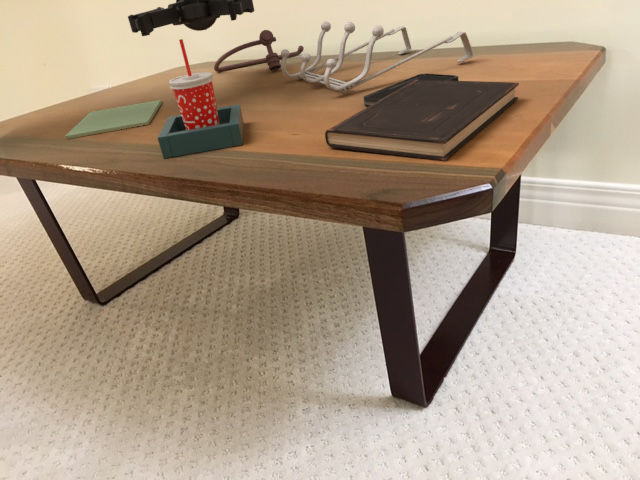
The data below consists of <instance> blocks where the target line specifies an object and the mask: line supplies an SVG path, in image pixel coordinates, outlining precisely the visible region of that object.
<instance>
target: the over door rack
mask: <svg viewBox="0 0 640 480" xmlns="http://www.w3.org/2000/svg"><path fill="white" fill-rule="evenodd" d="M320 29H321V31H320V33H319V35H318V38H317V48H316V49H317V50H316V58H315V60H314V61H313V63H312V64H311V65H309V66H308V67H307V65H308V63H310V61H311V60H312V56H311V54H309V53H308V52H306V53H305V52H304V53H303V54H302V55H301V61H302V62H301V65H300V69H299V71H297V72H296V73H292V74H290V73H289V72H288V71H287V69H286V63H287V60H288V59H287V57H288V58H290V57H289V54H290V53H291V52H290V51H289V49H287V48H284V49H282V50H281V52H280V55H281V56H282V57H283V58H282V59H281V61H280V64H281V68H280V69H281V72H282V74H283V75H284V76H285V77H288V78H297V80H298V81H300V80H304V81H305V82H307V83H310V84H316V83H318V84H322V85H324V86H325V87H326V88H327V89H329V90H332V91H335V92H340V93H341V94H344V93H347V92H349V91H350V90H353V89H354V88H356V87H358V86H361V85H363V84H364V83H366V82H368V81H371V80H372V79H374V78H377V77H379V76H381V75H383V74H385V73H387V72H389V71H391V70H393V69H395V68H396V67H399V66H400V65H403V64H405V63H407V62H408V61H411V60H413V59H415V58H417V57H419V56H421V55H423V54H425V53H427V52H429V51H431V50H433V49H435V48H438V47H439V46H441V45H443V44H449V43H450V44H451V43H453V42H454V41H456V40H457V39H459V38H460V40H461V43H462V46H463V48H464V53H465V55H464V56H463V57H461V58H459V59H457V61H456V62H457V64H460V63H464V62H465V61H468V60H469V59H472V58H473V57H474V52H473V49H472V45H471V42H470V40H469V37H468V35H467V32H466V31H458V32H456V33H454V35H450V36H449V37H447V38H444V39H442V40H440V41H438V42H436V43H433V44H432V45H430V46H429V47H426V48H424V49H422V50H420V51H418V52H416V53H414V54H412V55H410V56H408V57H405V58H404V59H401V60H400V61H398V62H395V63H394V64H391V65H390V66H387V67H386V68H383V69H382V70H379V71H377V72H375V73H374V74H372V75H370V76H368V77H366V76H367V75H368V73H369V71H370V68H371V63H372V57H373V52H374V51H373V49H374V46H375V43H376V42H377V41H378V40H381V39H383V38H384V37H386V36H387V37H388V36H392V35H395V34H396V33H398V32H401V35H402V37H403V38H402V39H403V43H404V47H405V48H404V49H402V50H400V51H398V53H397V55H398V56H401V55H404V54H406V53H409V51H411V50H412V45H411V40H410V37H409V33H408V29H407V27H406V26H398V27H397V28H395V29H394V28H392V29H390V30H388V31H387V32H385V30H384V27H383V26H381V24H380V25H379V24H376V25H375V26H373V27H372V29H371V34H372V36H371V37H370V39H369V41H366V42H364V43H362V44H360V45H358V46H357V47H354V48H353V49H351V50H349V51H347V52H346V45H347V40H348V38H349V36H350V34H353V33H354V32H355V31H356V25H355V23H353V22H352V21H348V22H346V23H345V24H344V34H343V36H342V38H341V40H340V46H339V48H340V49H339V53H338V56H337V57H335V58H328V59H327V61H326V62H325V63H323V64H321V65H319V63H320V62H321V59H322V49H323V41H324V37H325V34H326V33H328V32H329V31H331V29H332V25H331V23H330V22H329V21H327V20H326V21H323V22H322V23H321V25H320ZM366 47H367V48H366ZM363 48H366V56H365V62H364V67H363V69H362V71H361V73H360V74H359V75H358V76H357V77H354V78H352V79H351V80H349V81H344V80H340V79H336V78H334V77H333V78H332V77H331V76H333V75H334V74H336V73H337V72H338V71H339V70H340V69H341V67H342V65H343V63H344V59H345V57H347V56H349V55H351V54H353V53H354V52H355V53H356V52H358V51H359V50H361V49H363ZM318 65H319V66H318ZM325 67H326V68H325ZM324 68H325V71H324V74H318V73H316V72H318V71H319V70H322V69H324Z"/></svg>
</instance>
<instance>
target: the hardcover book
mask: <svg viewBox="0 0 640 480" xmlns="http://www.w3.org/2000/svg"><path fill="white" fill-rule="evenodd" d="M519 85H520V83H519V82H509V81H508V82H507V81H506V82H505V81H479V80H478V81H476V80H475V81H474V80H473V81H472V80H458V81H444V80H414V81H412V82H411V83H409V84H407V85H405V86H404V87H402V88H400V89H398V90H397V91H395V92H393V93H391V94H390V95H388V96H386V97H384V98H383V99H381V100H379V101H377V102H376V103H374V104H372V105H370V106H367V107H365V108H363V109H362V110H360V111H358V112H356V113H354V114H353V115H351V116H349V117H348V118H346V119H343V121H340V122H339V123H337V124H336V125H334V126H332V127H330V128H328V129H327V130H326V131H325V132H324V137H325V143H326V144H327V146H328V147H329V148H333V149H342V150H349V151H358V152H359V151H360V152H368V153H374V154H384V155H391V156H392V155H393V156H400V157H402V156H403V157H409V158H417V159H426V160H434V161H443V162H446V161H448V159H449V158H450V157H452V156H453V155H454V154H455V153H457V152H458V151H459V150H460V149H461V148H463V147H464V146H465V145H467V143H468V142H470V140H472V139H473V138H475V136H476V135H477V134H479V133H480V132H481V131H482V130H483V129H484V128H486V127H487V126H488V125H490V124H491V123H492V122H493V121H494V120H496V118H498V117H499V116H500V115H501V114H502V113H504V112H505V111H506V110H507V109H509V107H510V106H512V105H513V104H514V103H515V102H516V101H517V100H519V97H518V96H516V95H515V94H516V90H515V89H516V88H517V87H518V86H519Z"/></svg>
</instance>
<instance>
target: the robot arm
mask: <svg viewBox="0 0 640 480" xmlns="http://www.w3.org/2000/svg"><path fill="white" fill-rule="evenodd" d="M254 12H255V6H254V1H253V0H175V2H173V3H169V4H168V5H167V7H166V8H164V7H161V6H157V8H154V9H151V10H147V11H143V12H139V13H136V14H129V15H128V16H127V19H128V22H129V26H130V29H131V33H136V34H138V32H140V34H141V37H147V36H150V35H151V34H152V32H154V30H155V29H158V28H162V27H165V26H169V25H172V26H182V25H184V26H185V27H186V28H187V29H189V30H191V31H192V30H193V31H195V32H202V31H207V30H208V29H210V28H211V27H212V26H214V24H215V23H216V21H217V19H219V18H221V16H229V17H230V21H231V22H232V21H237V18H238V16H242V15H243V14H244V13H250V14H252V13H254Z"/></svg>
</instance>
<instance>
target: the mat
mask: <svg viewBox="0 0 640 480" xmlns="http://www.w3.org/2000/svg"><path fill="white" fill-rule="evenodd" d="M162 104H163V100H162V99H156V100H152V101H146V102H140V103H134V104H127V105H123V106H117V107H111V108H106V109H98V110H93V111H89V112H88V114H87V115H85V116H84V117H83V118H82V119H81V120H80V121H79V122H78V123H77V124H76V125H74V127H73V128H72V129H71V130H70V131H69V132H67V133H66V134H65V136H64V137H65V139H66V140H70V139H75V138H81V137H86V136H92V135H93V136H94V135H99V134H103V133H109V132H115V131H121V129H122V130H126V128H127V129H132V127H133V128H138V127H137V126H139V127H144V126H143V125H145V126H149V125H150V124H151V121H153V119H154V117H155V115H156V113H157V112H158V110H159V108H160V107H161V105H162Z"/></svg>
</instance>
